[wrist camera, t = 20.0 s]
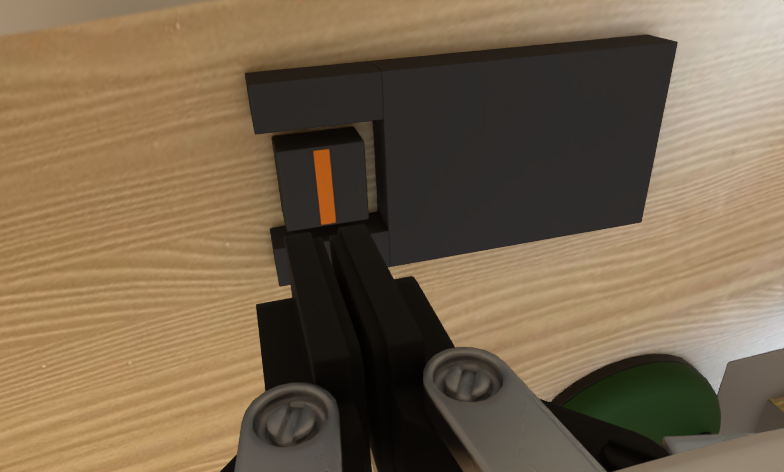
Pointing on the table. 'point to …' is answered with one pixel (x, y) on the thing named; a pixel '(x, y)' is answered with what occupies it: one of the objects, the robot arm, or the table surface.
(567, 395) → the desk lamp
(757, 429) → the architectural model
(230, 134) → the table surface
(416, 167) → the black notched block
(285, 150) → the tile
